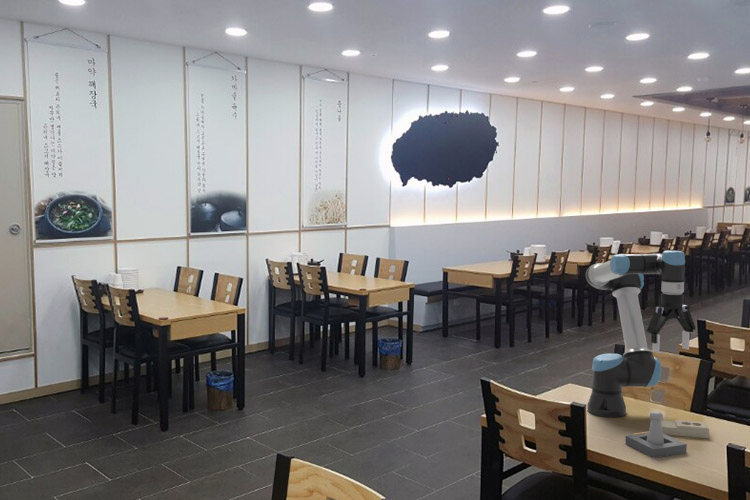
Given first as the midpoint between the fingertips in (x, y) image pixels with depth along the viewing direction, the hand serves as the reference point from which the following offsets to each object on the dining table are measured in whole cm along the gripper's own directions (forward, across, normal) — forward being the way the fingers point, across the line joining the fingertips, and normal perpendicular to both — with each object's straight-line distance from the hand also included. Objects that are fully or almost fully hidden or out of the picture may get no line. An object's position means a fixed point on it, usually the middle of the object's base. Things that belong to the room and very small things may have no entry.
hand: (670, 350), depth 244 cm
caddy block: (+32, -14, -9) cm, 36 cm away
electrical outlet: (+32, +6, 0) cm, 33 cm away
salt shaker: (+32, -14, -9) cm, 36 cm away
